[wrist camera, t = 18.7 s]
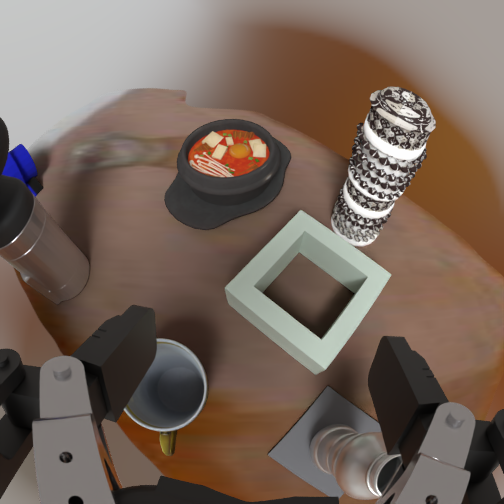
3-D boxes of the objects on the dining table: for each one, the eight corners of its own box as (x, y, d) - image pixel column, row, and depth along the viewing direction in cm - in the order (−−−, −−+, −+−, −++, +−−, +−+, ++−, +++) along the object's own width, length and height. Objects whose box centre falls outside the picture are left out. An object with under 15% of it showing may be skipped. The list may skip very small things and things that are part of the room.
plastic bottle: (351, 418, 34) (431, 421, 16) (357, 463, 31) (437, 497, 13) (303, 428, 34) (350, 448, 16) (309, 474, 30) (358, 528, 13)
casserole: (221, 259, 46) (215, 228, 38) (145, 199, 52) (131, 167, 44) (313, 166, 55) (319, 132, 47) (238, 127, 61) (236, 94, 53)
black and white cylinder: (367, 259, 45) (438, 138, 23) (318, 228, 48) (356, 94, 26) (388, 221, 49) (450, 106, 27) (343, 194, 52) (383, 70, 30)
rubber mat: (336, 499, 28) (336, 500, 28) (267, 454, 32) (267, 454, 32) (391, 432, 33) (392, 432, 32) (327, 386, 36) (327, 385, 36)
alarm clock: (-1, 201, 53) (-33, 161, 40) (31, 165, 58) (4, 123, 45) (14, 221, 50) (-23, 177, 37) (50, 180, 55) (20, 132, 42)
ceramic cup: (145, 354, 39) (115, 338, 30) (216, 352, 39) (204, 335, 30) (149, 445, 32) (119, 454, 24) (224, 446, 33) (214, 459, 24)
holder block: (315, 374, 37) (325, 369, 32) (228, 303, 42) (224, 287, 37) (376, 291, 43) (391, 274, 38) (295, 232, 48) (300, 209, 42)
